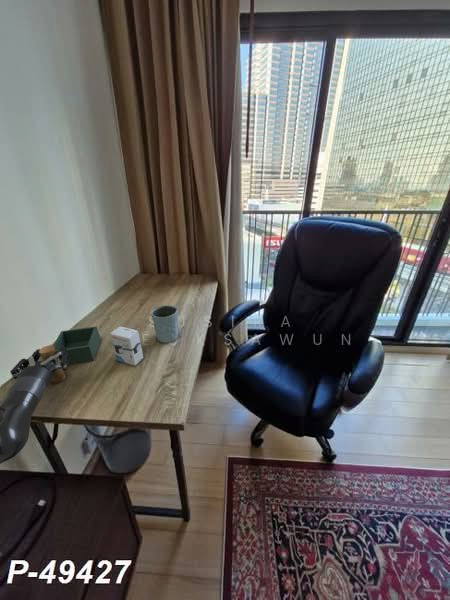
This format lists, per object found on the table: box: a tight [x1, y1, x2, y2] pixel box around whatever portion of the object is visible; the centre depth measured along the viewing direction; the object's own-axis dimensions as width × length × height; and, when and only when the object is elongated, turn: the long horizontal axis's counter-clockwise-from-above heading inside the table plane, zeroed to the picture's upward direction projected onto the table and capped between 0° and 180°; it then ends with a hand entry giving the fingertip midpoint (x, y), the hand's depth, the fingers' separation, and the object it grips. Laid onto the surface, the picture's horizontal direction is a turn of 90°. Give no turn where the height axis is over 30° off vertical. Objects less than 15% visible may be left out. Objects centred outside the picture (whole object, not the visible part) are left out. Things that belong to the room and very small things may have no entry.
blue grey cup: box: [150, 305, 179, 344], centre depth 101 cm, size 10×10×12 cm
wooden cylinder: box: [39, 344, 67, 384], centre depth 80 cm, size 4×4×12 cm
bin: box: [52, 326, 101, 366], centre depth 93 cm, size 13×14×6 cm
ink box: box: [109, 326, 144, 367], centre depth 88 cm, size 8×5×12 cm, turn 68°
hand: (51, 349), depth 80 cm, fingers open, 6 cm apart
